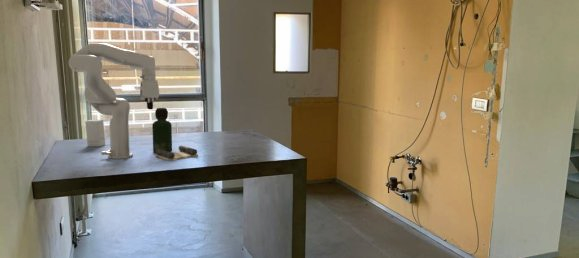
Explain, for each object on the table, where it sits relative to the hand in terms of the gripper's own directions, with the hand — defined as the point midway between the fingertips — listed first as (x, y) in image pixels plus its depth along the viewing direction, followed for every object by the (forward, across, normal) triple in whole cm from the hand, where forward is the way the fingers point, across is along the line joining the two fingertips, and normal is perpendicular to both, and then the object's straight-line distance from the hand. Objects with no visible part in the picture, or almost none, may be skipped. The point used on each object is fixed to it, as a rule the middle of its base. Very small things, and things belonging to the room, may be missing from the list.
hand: (150, 109), depth 255 cm
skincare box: (+23, -22, +27) cm, 42 cm away
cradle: (+23, -1, -29) cm, 37 cm away
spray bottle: (+23, -1, -14) cm, 27 cm away
